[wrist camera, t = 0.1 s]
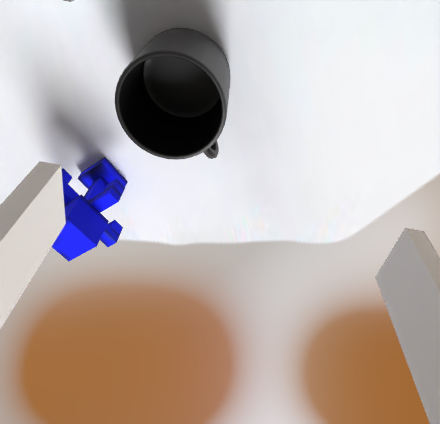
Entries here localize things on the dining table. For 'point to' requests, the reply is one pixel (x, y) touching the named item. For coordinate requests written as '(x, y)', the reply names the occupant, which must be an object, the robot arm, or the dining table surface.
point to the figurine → (90, 210)
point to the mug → (175, 95)
